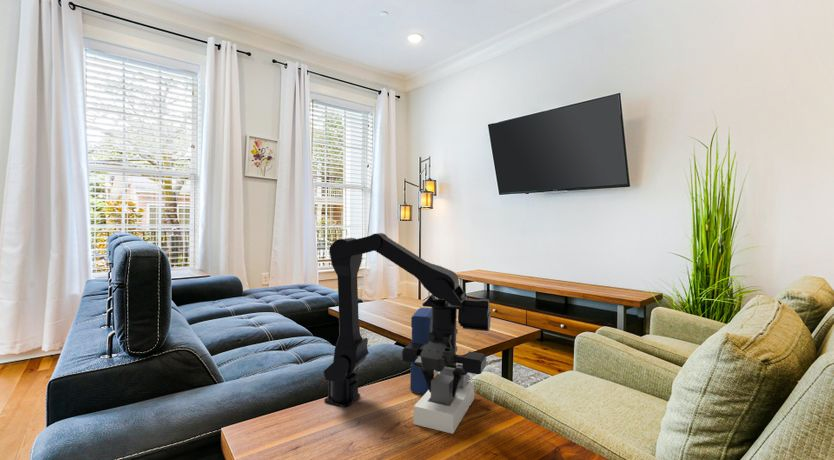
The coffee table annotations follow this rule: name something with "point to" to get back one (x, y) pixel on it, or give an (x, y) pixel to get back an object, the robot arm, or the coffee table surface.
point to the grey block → (449, 372)
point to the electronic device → (420, 335)
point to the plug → (442, 389)
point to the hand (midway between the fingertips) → (442, 394)
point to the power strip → (443, 410)
